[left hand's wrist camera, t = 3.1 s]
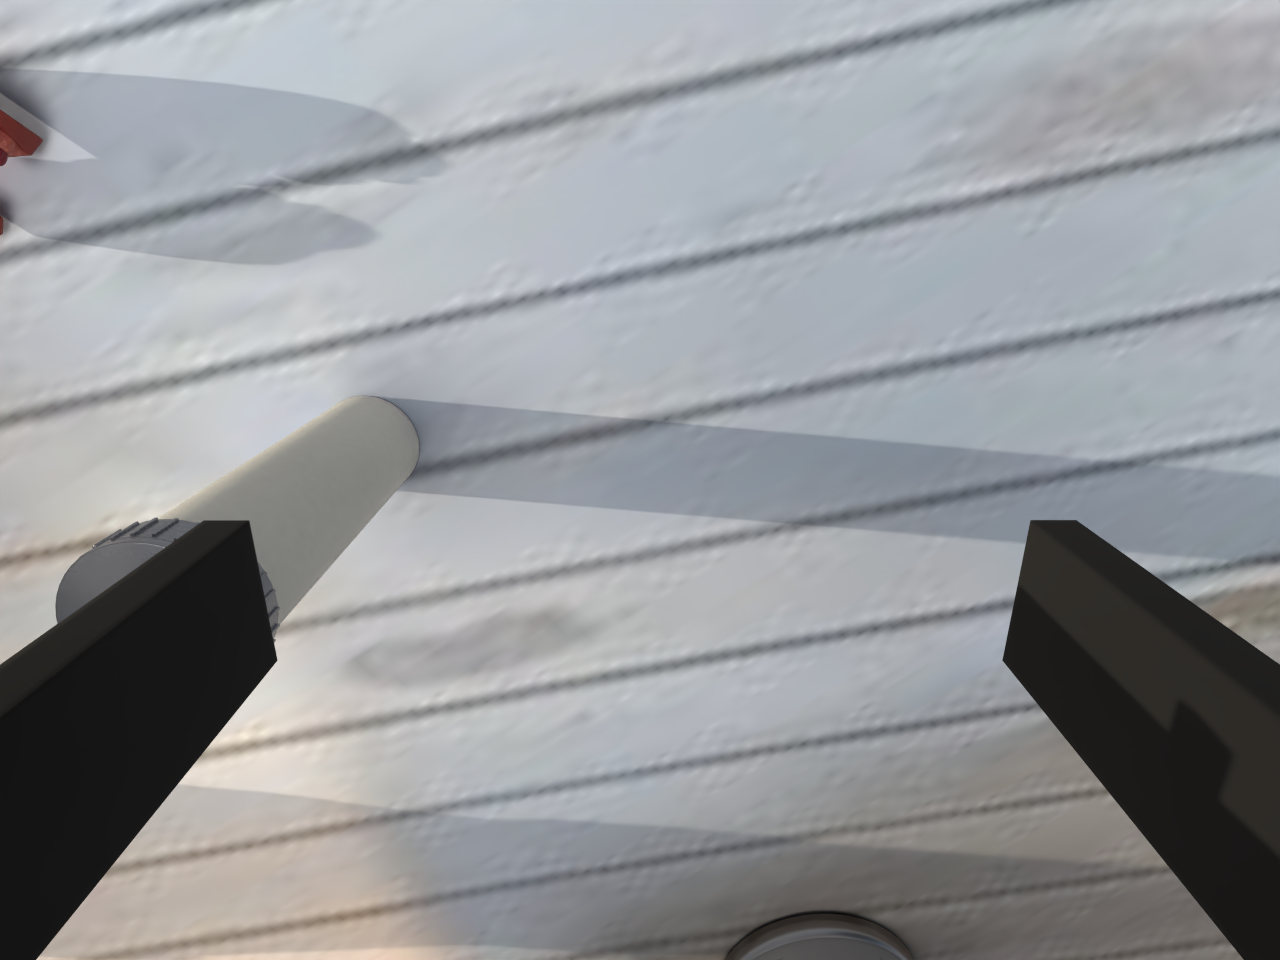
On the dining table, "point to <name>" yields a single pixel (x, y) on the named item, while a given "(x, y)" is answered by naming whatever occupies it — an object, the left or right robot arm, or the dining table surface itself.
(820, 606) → the dining table surface
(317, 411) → the dining table surface
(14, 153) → the dental model
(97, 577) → the lid
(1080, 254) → the dining table surface
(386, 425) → the bottle
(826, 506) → the dining table surface
